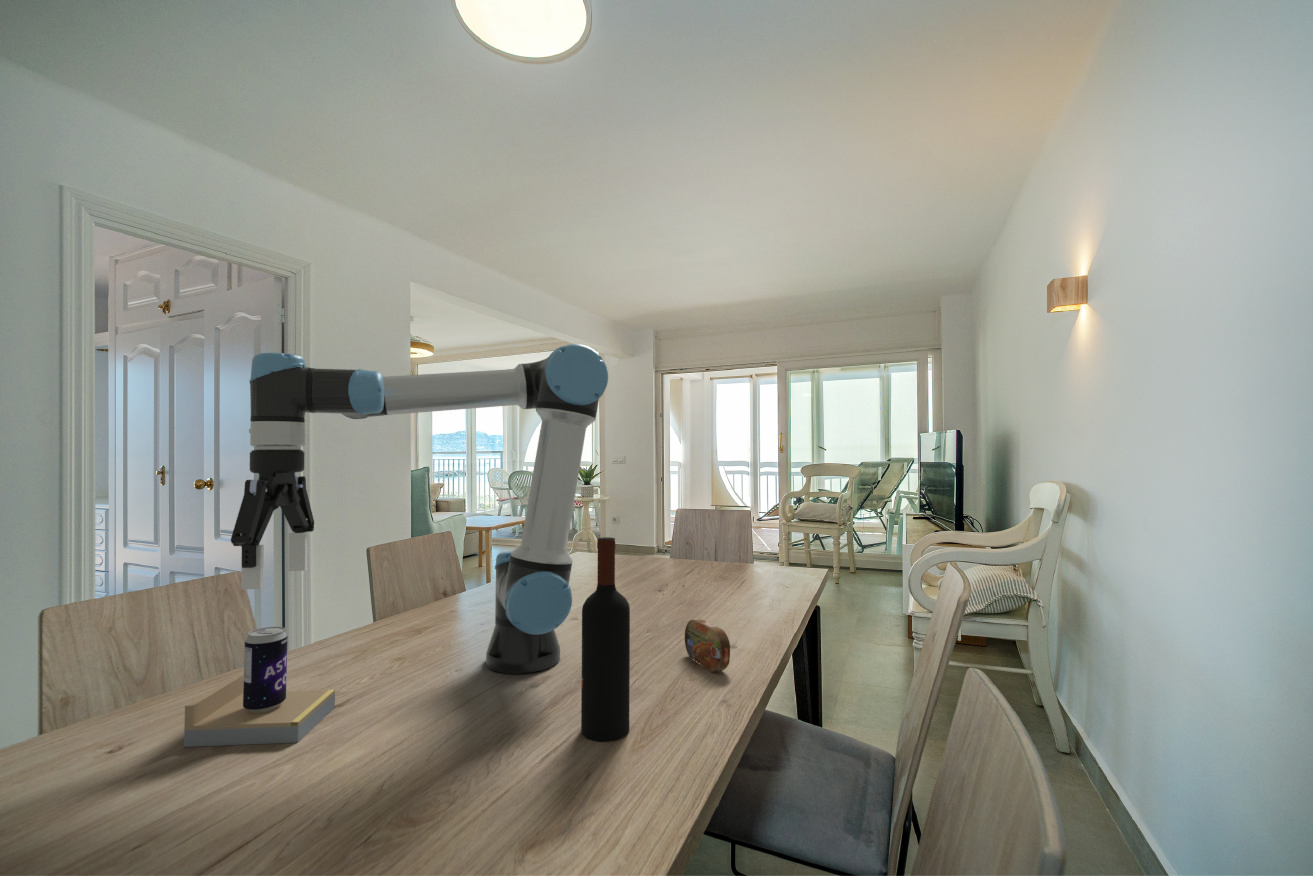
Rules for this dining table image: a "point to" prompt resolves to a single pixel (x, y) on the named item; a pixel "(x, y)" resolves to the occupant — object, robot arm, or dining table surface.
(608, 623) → the wine bottle
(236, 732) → the dock
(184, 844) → the dining table surface
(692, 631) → the tin
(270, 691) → the beverage can
